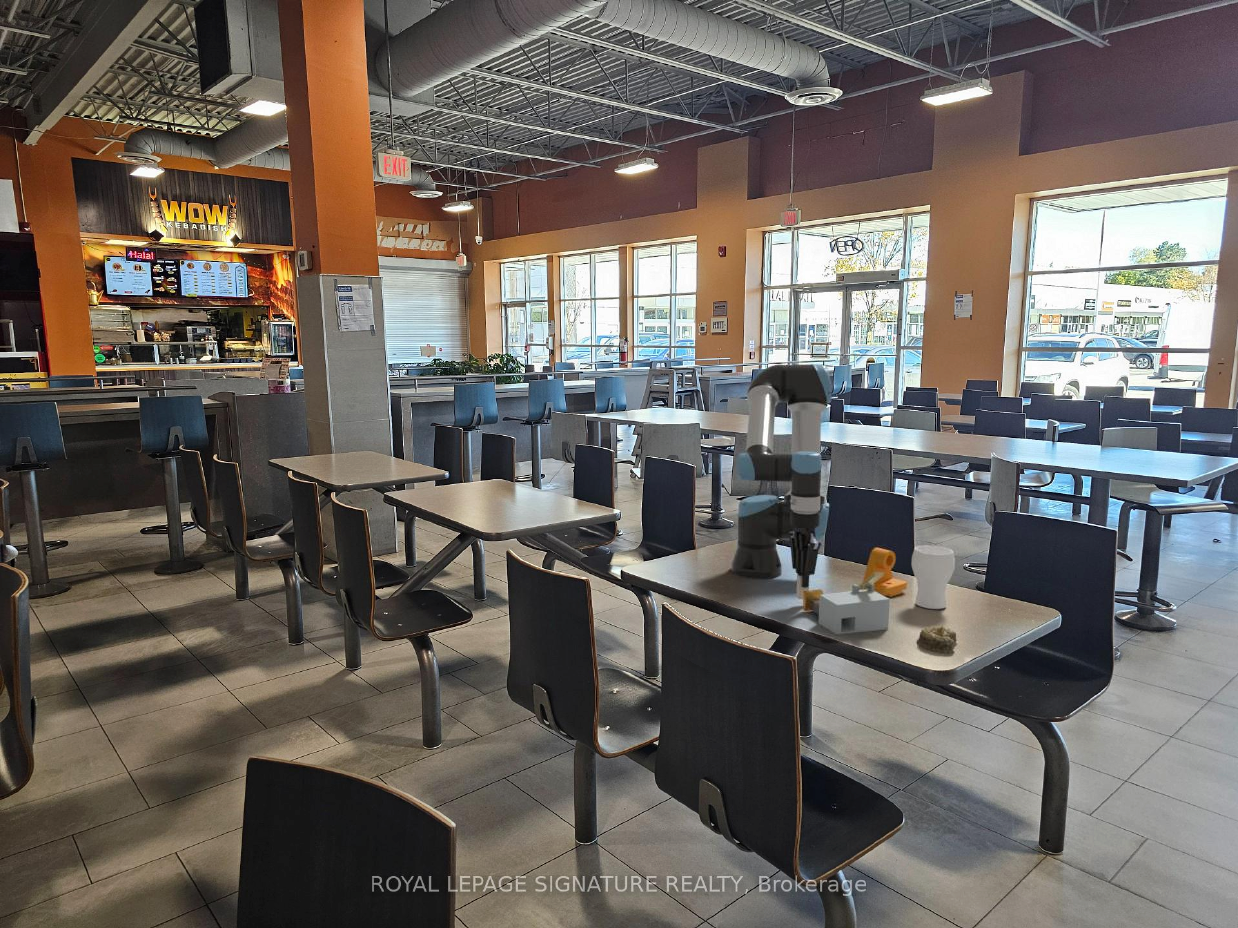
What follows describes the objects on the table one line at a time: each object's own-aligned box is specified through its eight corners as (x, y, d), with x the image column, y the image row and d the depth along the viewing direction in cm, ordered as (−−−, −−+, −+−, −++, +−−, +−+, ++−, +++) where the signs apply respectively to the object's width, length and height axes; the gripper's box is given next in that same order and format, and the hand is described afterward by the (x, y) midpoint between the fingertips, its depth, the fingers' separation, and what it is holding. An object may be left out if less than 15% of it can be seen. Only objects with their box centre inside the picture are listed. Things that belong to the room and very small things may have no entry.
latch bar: (857, 590, 196) (855, 585, 196) (868, 589, 197) (867, 584, 197) (874, 576, 189) (872, 571, 189) (885, 575, 190) (883, 570, 190)
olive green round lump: (916, 653, 178) (917, 630, 177) (916, 637, 188) (917, 616, 187) (963, 659, 175) (965, 636, 174) (961, 642, 184) (963, 621, 183)
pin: (802, 609, 204) (803, 591, 203) (819, 607, 205) (820, 589, 204) (828, 625, 192) (828, 606, 191) (846, 623, 194) (846, 604, 193)
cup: (909, 608, 207) (912, 553, 205) (909, 596, 217) (912, 543, 214) (953, 612, 203) (956, 556, 201) (951, 600, 213) (954, 546, 211)
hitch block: (818, 625, 195) (819, 587, 194) (868, 619, 199) (870, 582, 198) (836, 637, 188) (837, 597, 186) (888, 630, 192) (889, 591, 190)
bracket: (884, 598, 215) (886, 556, 213) (862, 592, 221) (863, 550, 219) (907, 591, 221) (909, 550, 219) (885, 584, 227) (887, 544, 225)
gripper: (780, 506, 210) (778, 591, 214) (804, 517, 198) (802, 607, 201) (805, 505, 212) (802, 589, 216) (831, 515, 200) (828, 604, 203)
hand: (802, 597), depth 209 cm, fingers closed
